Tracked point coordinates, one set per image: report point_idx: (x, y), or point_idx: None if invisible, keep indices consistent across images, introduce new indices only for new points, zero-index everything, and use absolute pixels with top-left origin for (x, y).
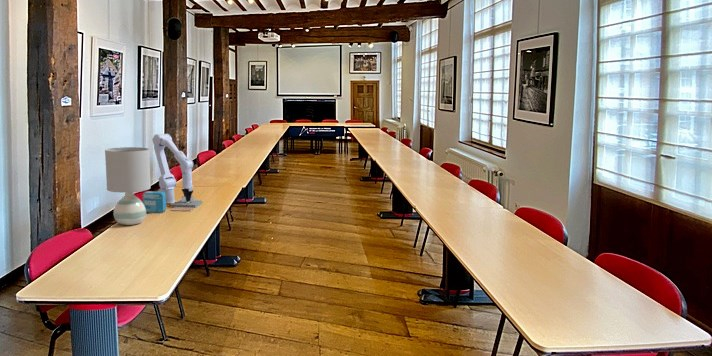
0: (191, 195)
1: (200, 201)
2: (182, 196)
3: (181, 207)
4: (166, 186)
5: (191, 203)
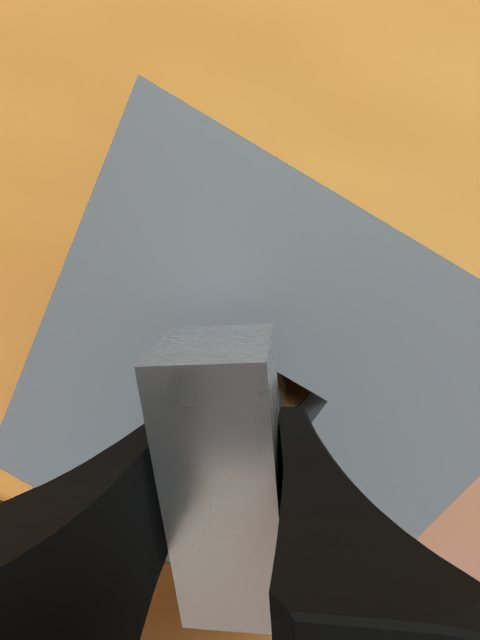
0: (151, 402)
1: (243, 145)
2: (221, 619)
3: (442, 534)
4: None
5: (382, 381)
